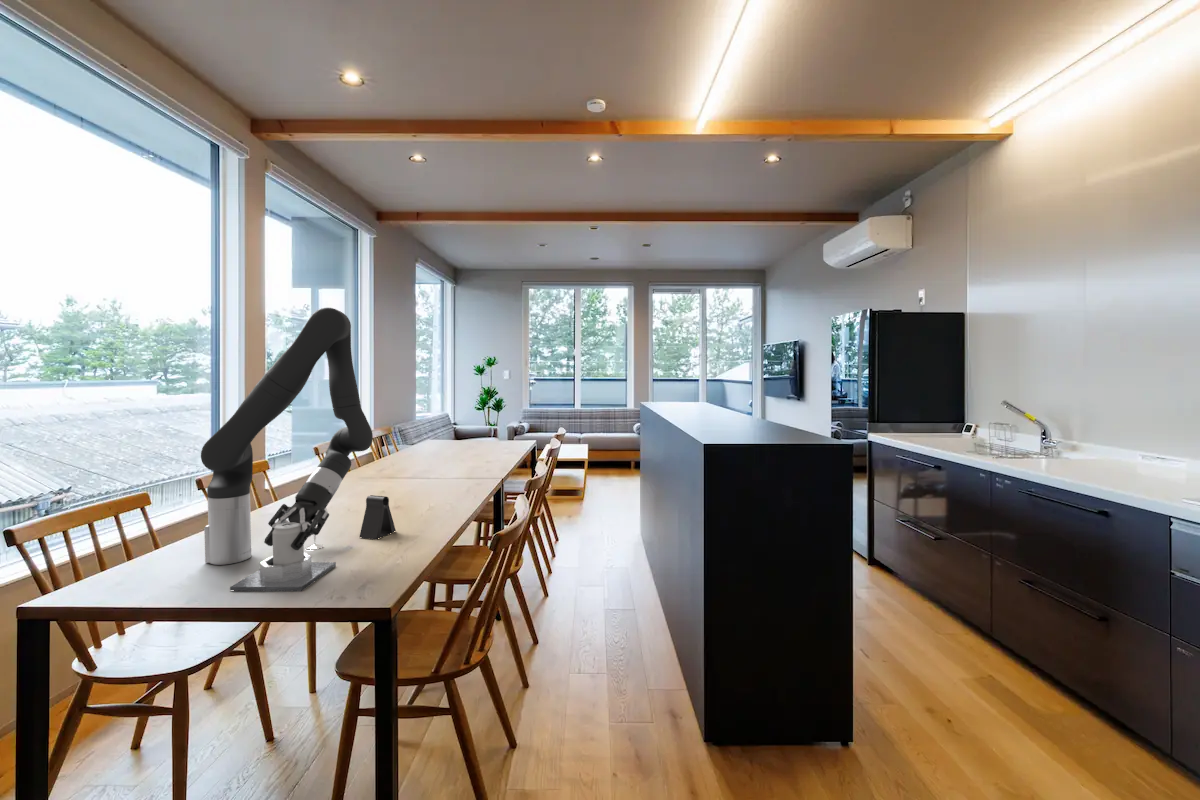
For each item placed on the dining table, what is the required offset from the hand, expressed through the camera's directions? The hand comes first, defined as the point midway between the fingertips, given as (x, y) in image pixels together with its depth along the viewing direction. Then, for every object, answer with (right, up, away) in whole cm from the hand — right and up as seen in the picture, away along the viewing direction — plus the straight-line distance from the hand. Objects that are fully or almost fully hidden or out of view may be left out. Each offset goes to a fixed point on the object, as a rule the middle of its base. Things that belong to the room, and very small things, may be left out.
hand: (280, 546), depth 127 cm
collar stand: (0, -8, +2) cm, 8 cm away
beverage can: (+1, -7, +1) cm, 7 cm away
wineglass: (-5, -7, +24) cm, 26 cm away
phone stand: (+8, -7, +37) cm, 38 cm away
